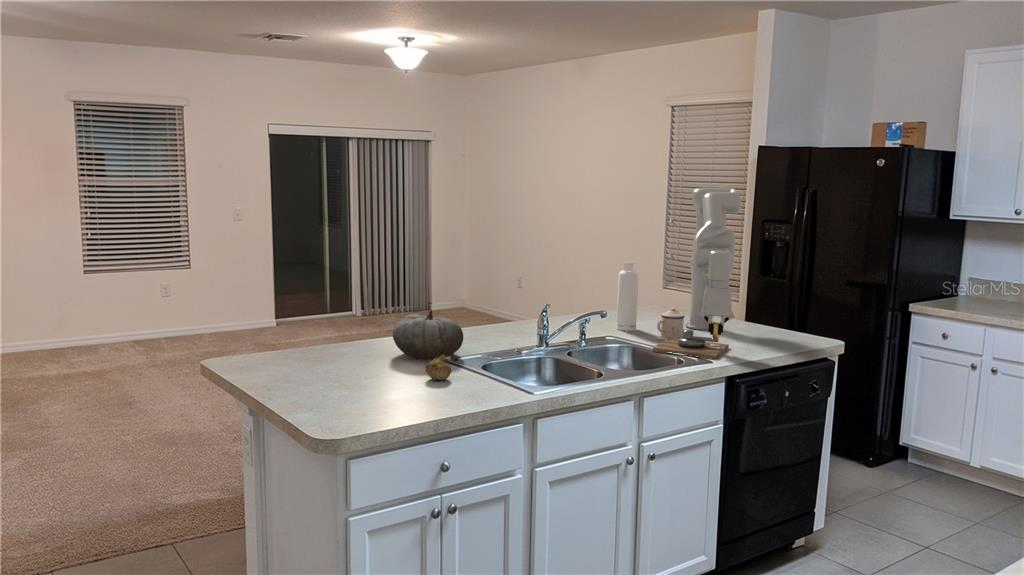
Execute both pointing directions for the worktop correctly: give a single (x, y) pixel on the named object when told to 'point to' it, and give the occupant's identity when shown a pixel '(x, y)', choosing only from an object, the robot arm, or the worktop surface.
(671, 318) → the teacup with lid
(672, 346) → the level stand
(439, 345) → the gourd
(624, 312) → the bottle
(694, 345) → the capstan
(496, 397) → the worktop surface
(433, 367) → the onion
